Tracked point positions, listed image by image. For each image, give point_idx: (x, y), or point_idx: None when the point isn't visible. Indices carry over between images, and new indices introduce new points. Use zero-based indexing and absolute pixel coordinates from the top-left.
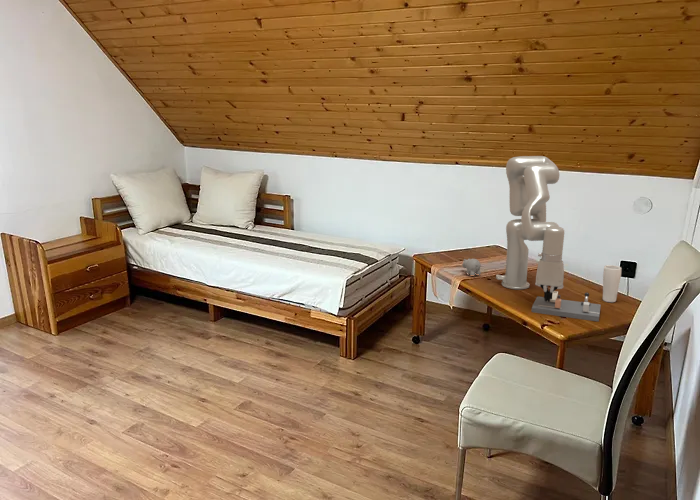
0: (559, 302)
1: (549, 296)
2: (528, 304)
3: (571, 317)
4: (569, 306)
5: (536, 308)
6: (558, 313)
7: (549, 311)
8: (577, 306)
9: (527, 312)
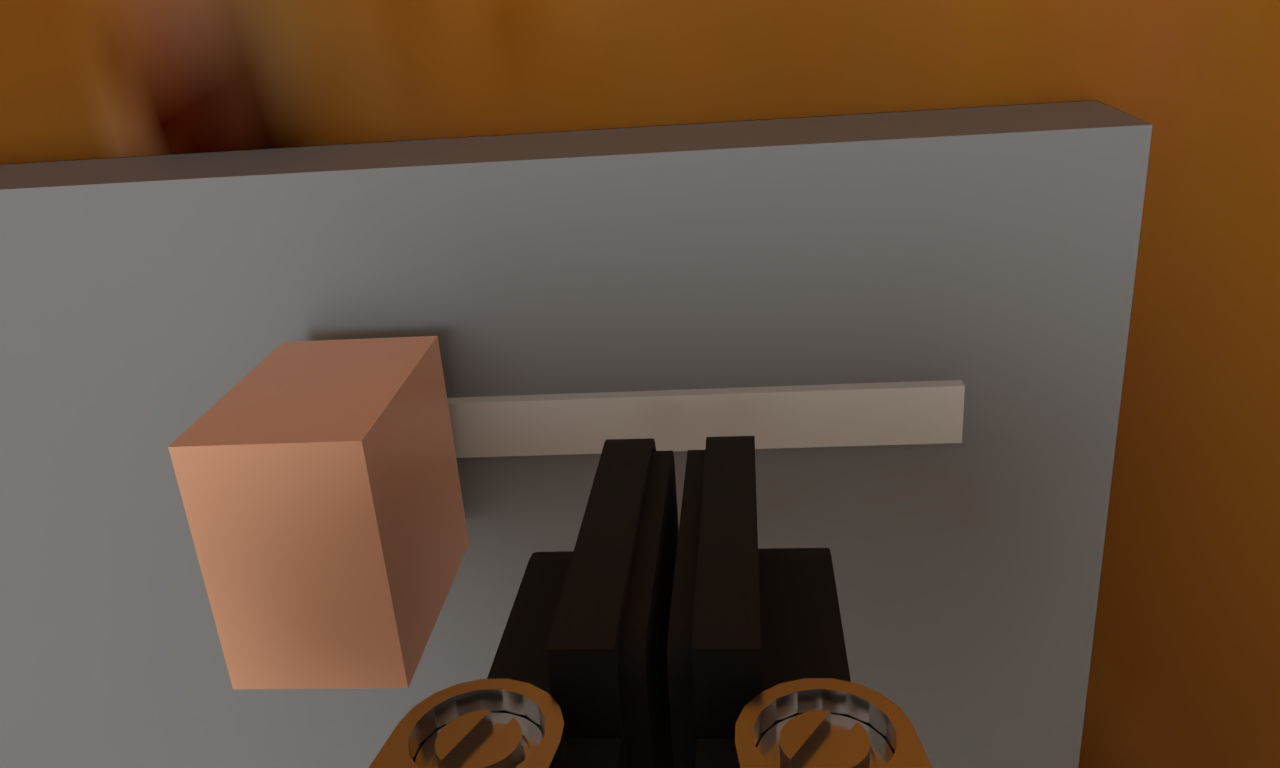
0: (234, 422)
1: (591, 537)
2: (1202, 645)
3: (15, 168)
4: (171, 662)
5: (986, 129)
6: (319, 161)
7: (571, 150)
8: (19, 732)
9: (1216, 12)
